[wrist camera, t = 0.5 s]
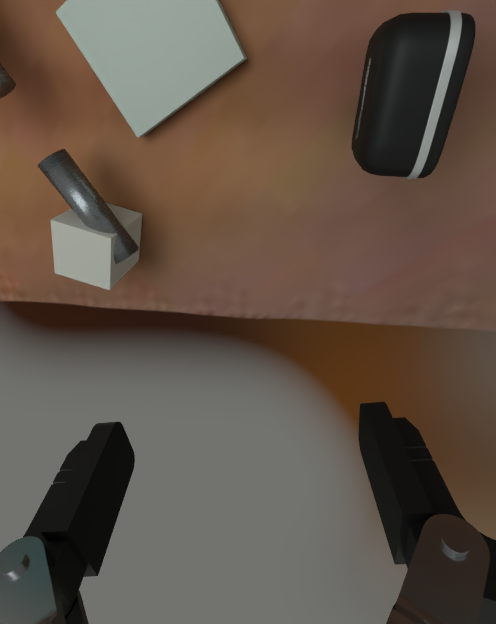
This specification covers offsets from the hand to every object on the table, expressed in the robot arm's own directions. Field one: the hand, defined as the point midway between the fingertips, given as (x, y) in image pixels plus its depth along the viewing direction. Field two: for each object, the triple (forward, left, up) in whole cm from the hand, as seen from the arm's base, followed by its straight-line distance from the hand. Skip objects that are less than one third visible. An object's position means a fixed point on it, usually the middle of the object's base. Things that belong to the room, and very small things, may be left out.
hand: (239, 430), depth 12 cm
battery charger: (-5, +9, -23) cm, 25 cm away
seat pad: (-16, -3, -23) cm, 28 cm away
